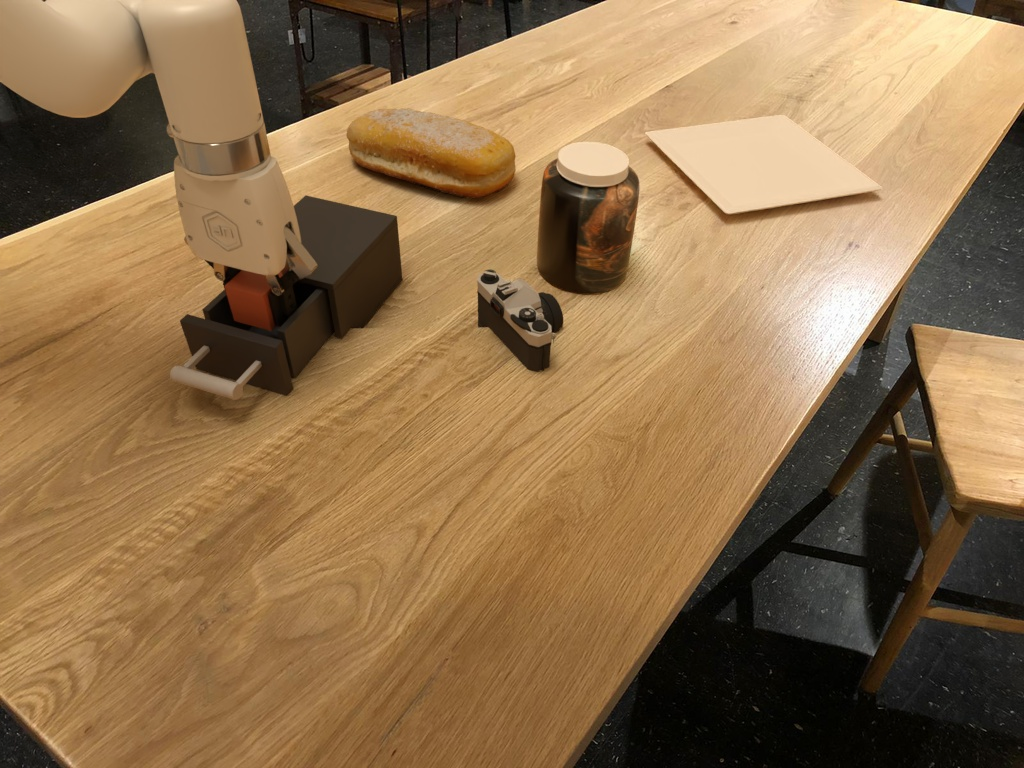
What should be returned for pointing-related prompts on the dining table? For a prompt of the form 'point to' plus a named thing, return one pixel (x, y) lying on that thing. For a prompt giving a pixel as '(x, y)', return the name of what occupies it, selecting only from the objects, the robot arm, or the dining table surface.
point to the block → (250, 299)
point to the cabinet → (350, 258)
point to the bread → (432, 151)
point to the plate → (760, 163)
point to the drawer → (253, 346)
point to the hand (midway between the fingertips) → (264, 311)
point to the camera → (519, 317)
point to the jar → (587, 218)
